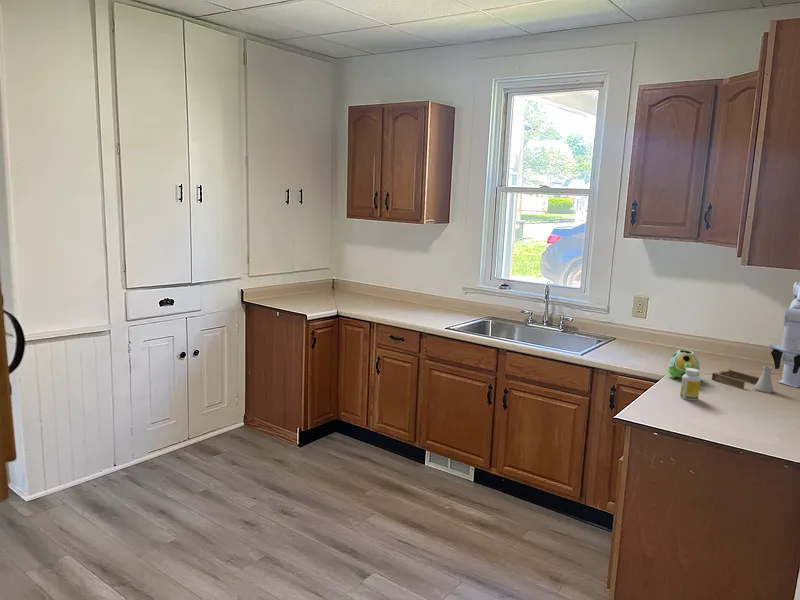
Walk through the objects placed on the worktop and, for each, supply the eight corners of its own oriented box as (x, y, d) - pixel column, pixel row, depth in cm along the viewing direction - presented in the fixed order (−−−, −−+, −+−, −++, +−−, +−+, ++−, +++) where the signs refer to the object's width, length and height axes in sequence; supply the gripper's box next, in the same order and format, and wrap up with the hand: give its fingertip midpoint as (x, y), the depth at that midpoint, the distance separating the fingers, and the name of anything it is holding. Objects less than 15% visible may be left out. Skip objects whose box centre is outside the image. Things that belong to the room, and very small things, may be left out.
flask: (755, 386, 250) (758, 363, 249) (775, 390, 246) (778, 367, 244) (752, 390, 245) (755, 367, 243) (772, 394, 240) (776, 371, 239)
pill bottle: (701, 400, 229) (705, 372, 227) (686, 401, 228) (690, 372, 226) (690, 395, 236) (694, 367, 234) (676, 395, 235) (679, 367, 232)
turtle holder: (670, 383, 249) (674, 356, 247) (665, 371, 266) (668, 346, 264) (703, 387, 246) (706, 360, 244) (695, 375, 263) (699, 349, 261)
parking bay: (728, 375, 264) (729, 369, 264) (758, 384, 253) (759, 377, 253) (711, 379, 257) (712, 373, 257) (742, 388, 246) (743, 381, 246)
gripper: (766, 335, 239) (761, 367, 241) (806, 343, 227) (800, 377, 229) (775, 333, 243) (770, 365, 245) (815, 341, 231) (809, 374, 233)
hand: (785, 370), depth 238 cm, fingers open, 6 cm apart
